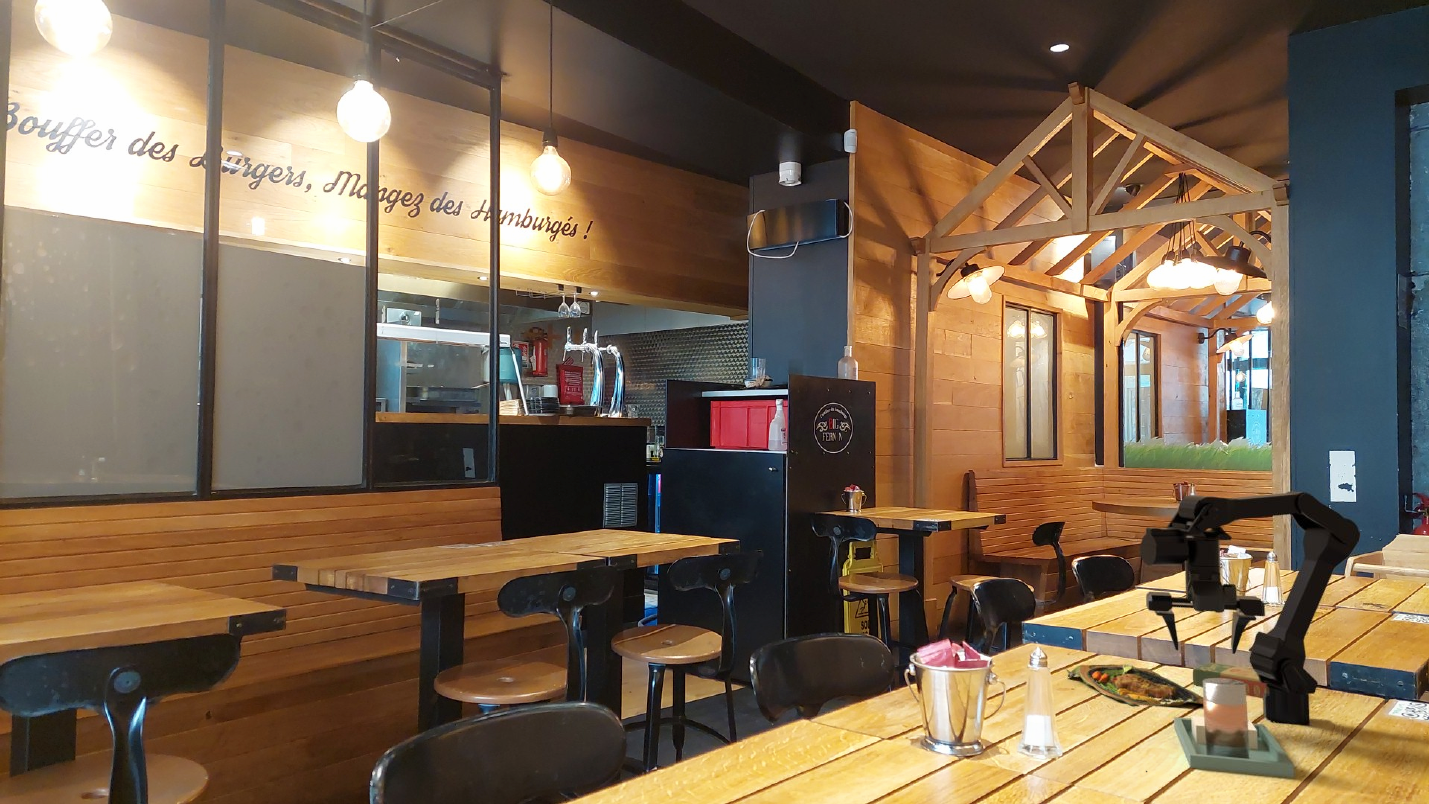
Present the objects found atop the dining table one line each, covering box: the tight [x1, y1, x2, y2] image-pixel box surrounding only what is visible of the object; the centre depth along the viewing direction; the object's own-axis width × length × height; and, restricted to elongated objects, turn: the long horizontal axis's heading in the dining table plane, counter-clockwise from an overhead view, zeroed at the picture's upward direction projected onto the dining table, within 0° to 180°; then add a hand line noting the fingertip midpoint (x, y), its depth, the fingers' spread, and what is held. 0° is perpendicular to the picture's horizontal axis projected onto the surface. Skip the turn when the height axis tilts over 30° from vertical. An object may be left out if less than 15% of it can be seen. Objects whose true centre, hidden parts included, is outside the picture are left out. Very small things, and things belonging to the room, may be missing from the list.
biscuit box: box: [1190, 715, 1258, 749], centre depth 161 cm, size 9×6×3 cm, turn 70°
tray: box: [1173, 716, 1295, 779], centre depth 156 cm, size 14×22×2 cm, turn 160°
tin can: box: [1202, 678, 1249, 759], centre depth 152 cm, size 6×6×12 cm
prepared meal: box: [1065, 663, 1204, 708], centre depth 197 cm, size 28×4×18 cm
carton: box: [1192, 662, 1266, 699], centre depth 197 cm, size 8×16×4 cm, turn 39°
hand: (1204, 651), depth 173 cm, fingers open, 9 cm apart
